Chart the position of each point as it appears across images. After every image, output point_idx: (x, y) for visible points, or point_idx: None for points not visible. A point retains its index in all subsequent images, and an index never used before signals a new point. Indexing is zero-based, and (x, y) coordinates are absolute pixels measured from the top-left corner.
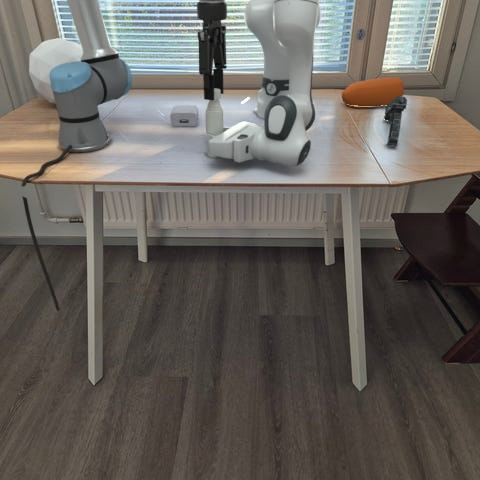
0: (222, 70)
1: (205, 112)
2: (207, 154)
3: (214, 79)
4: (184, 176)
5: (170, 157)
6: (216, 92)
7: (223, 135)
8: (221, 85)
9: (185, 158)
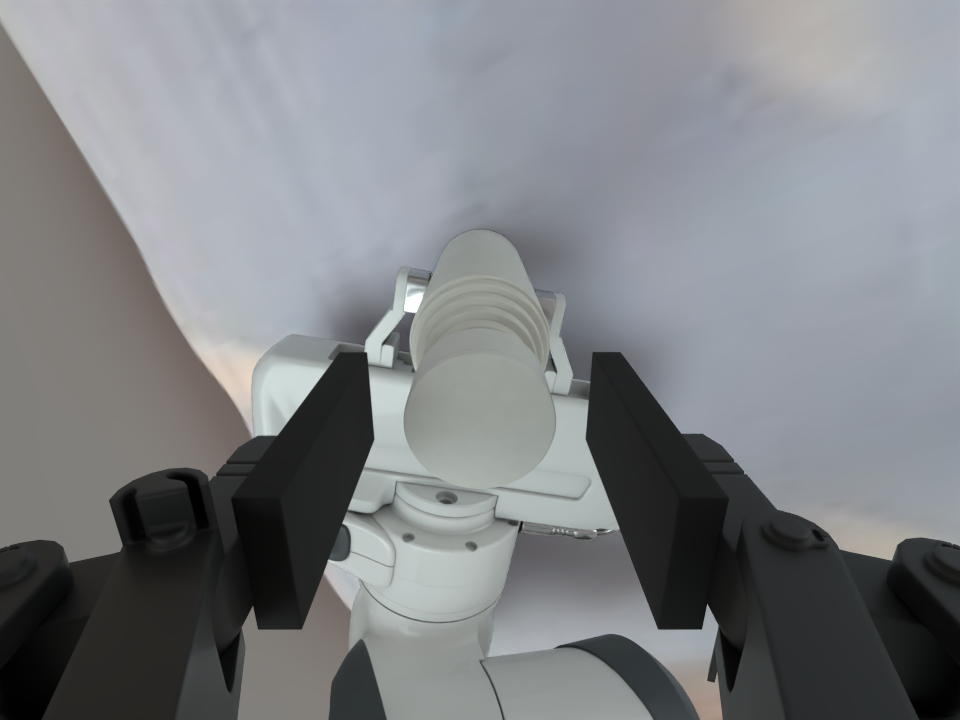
0: (665, 621)
1: (444, 283)
2: (449, 242)
3: (631, 429)
4: (185, 237)
5: (344, 48)
6: (429, 467)
7: (373, 407)
8: (604, 477)
9: (369, 143)
